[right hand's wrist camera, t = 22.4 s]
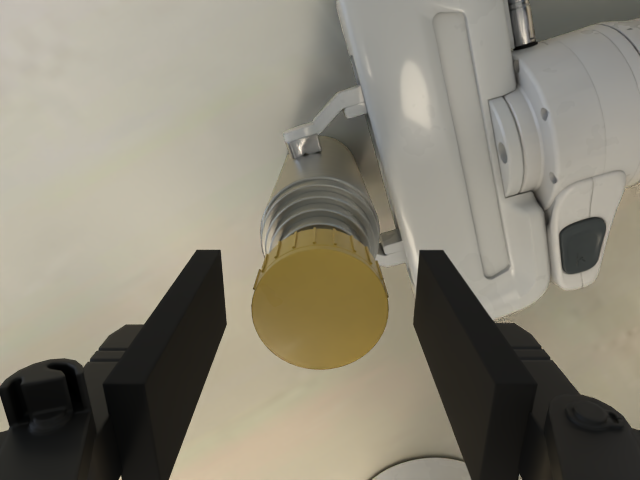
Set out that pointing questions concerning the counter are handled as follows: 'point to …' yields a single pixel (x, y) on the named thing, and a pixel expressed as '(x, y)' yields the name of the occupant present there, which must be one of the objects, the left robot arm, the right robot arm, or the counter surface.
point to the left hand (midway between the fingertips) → (305, 200)
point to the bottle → (320, 198)
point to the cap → (320, 299)
